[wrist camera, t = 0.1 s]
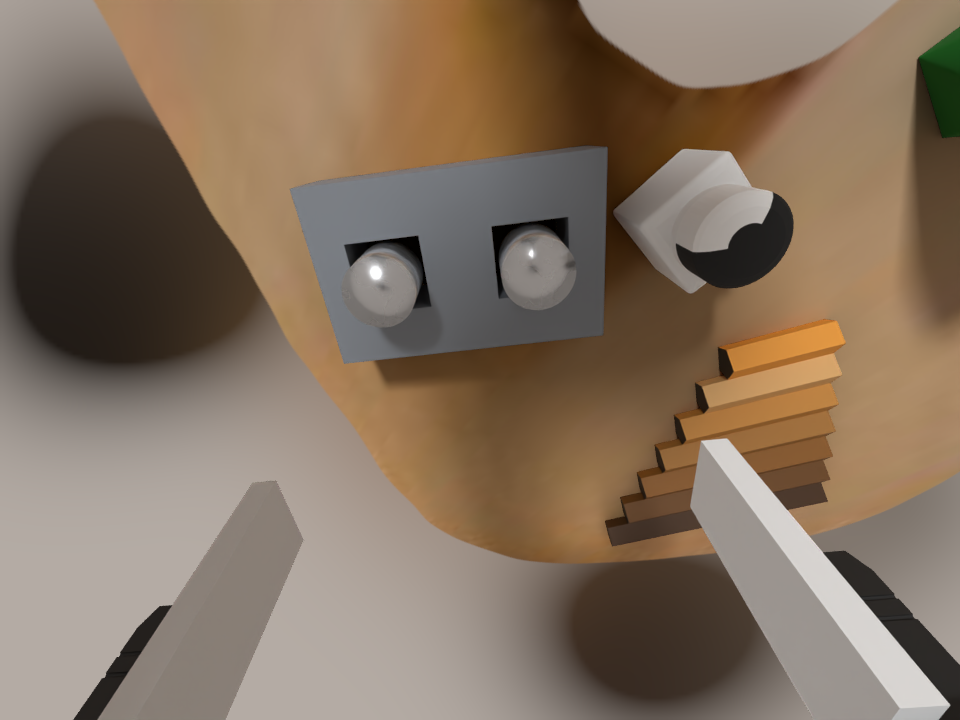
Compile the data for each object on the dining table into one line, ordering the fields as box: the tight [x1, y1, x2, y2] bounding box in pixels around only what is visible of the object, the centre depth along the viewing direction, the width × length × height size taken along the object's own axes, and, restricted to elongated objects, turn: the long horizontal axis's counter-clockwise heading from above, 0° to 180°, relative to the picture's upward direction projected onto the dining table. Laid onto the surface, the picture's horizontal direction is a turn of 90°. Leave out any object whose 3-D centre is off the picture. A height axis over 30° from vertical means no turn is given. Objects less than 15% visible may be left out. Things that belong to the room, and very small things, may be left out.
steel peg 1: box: [341, 241, 423, 328], centre depth 31 cm, size 5×5×5 cm
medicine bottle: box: [613, 149, 793, 293], centre depth 30 cm, size 7×7×12 cm
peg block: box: [290, 145, 608, 364], centre depth 34 cm, size 14×22×6 cm, turn 97°
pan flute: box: [605, 319, 846, 546], centre depth 47 cm, size 25×3×25 cm
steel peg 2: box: [498, 223, 576, 310], centre depth 30 cm, size 5×5×5 cm
